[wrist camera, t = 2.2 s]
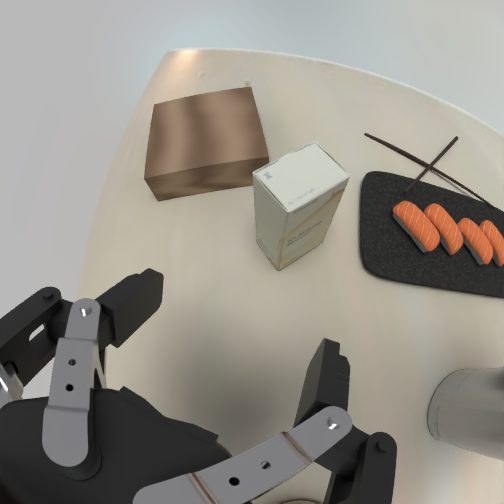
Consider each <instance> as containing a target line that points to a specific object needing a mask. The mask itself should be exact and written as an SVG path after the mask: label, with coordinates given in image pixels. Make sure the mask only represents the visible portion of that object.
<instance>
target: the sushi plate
mask: <svg viewBox="0 0 504 504" xmlns="http://www.w3.org/2000/svg"><path fill="white" fill-rule="evenodd" d="M364 135H365V136H367V137H369V138H371V139H373V140H375V141H377V142H379V143H381V144H383V145H385V146H387V147H388V148H390V149H392V150H394V151H396V152H398V153H400V154H402V155H404V156H406V157H408V158H410V159H412V160H414V161H416V162H418V163H420V164H422V165H424V166H426V167H427V168H426V169H425V170H424V171H423V172H422V173H421V174H420V175H419V176H418V177H417V178H416V179H412V178H408V177H404V176H400V175H396V174H392V173H387V172H381V171H372V172H369V173H367V174H366V175H365V177H364V179H363V183H362V193H361V250H362V257H363V260H364V263H365V265H366V267H367V268H368V269H369V270H370V271H371V272H373V273H374V274H376V275H378V276H381V277H384V278H387V279H392V280H396V281H401V282H407V283H413V284H419V285H426V286H432V287H438V288H445V289H451V290H457V291H464V292H470V293H477V294H483V295H490V296H496V297H504V212H503V211H501V210H500V209H498V208H496V207H494V206H492V205H491V204H490V203H488V202H487V201H486V200H484V199H483V198H481V197H480V196H478V195H477V194H476V193H474V192H473V191H471V190H470V189H468V188H467V187H465V186H464V185H462V184H460V183H459V182H457V181H456V180H454V179H452V178H451V177H449V176H448V175H446V174H444V173H443V172H441V171H439V170H438V169H436V168H434V167H432V166H433V165H434V164H435V163H436V162H437V161H438V160H439V159H440V158H441V157H442V156H443V155H444V154H445V153H446V152H447V150H448V149H449V148H450V147H451V146H452V145H453V144H454V143H455V142H456V141H457V140H458V137H457V136H456V137H455V138H454V139H453V140H452V141H451V142H450V144H449V145H448V146H447V147H446V148H445V149H444V150H443V151H442V152H441V153H440V154H439V155H438V157H437V158H436V159H435V160H434V161H433V162H432V163H431V164H430V165H429V164H427V163H425V162H424V161H422V160H420V159H418V158H417V157H415V156H413V155H411V154H409V153H407V152H405V151H403V150H401V149H399V148H397V147H395V146H393V145H391V144H389V143H387V142H385V141H383V140H381V139H378V138H376V137H374V136H372V135H369V134H367V133H365V134H364ZM429 169H431V170H433V171H435V172H437V173H439V174H440V175H442V176H444V177H446V178H447V179H449V180H451V181H452V182H454V183H456V184H457V185H459V186H461V187H462V188H464V189H465V190H467V191H468V192H470V193H471V194H473V195H474V196H476V197H477V198H479V199H480V200H482V201H483V202H481V201H479V200H476V199H473V198H471V197H468V196H465V195H462V194H459V193H456V192H454V191H451V190H448V189H445V188H441V187H438V186H435V185H432V184H429V183H425V182H422V181H419V179H420V178H421V177H422V176H423V175H424V174H425V173H426V172H427V171H428V170H429ZM484 202H485V203H484Z"/></svg>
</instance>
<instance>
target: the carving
mask: <svg viewBox="0 0 504 504" xmlns="http://www.w3.org/2000/svg"><path fill="white" fill-rule="evenodd" d="M283 504H316V503H313V502H310V501H291V502H287V503H283Z"/></svg>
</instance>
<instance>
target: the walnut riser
mask: <svg viewBox="0 0 504 504" xmlns="http://www.w3.org/2000/svg"><path fill="white" fill-rule="evenodd" d="M267 164H269V155H268V151H267V147H266V142H265V138H264V134H263V130H262V127H261V123H260V119H259V115H258V111H257V107H256V103H255V100H254V96H253V92H252V89H251V87H244V88H237V89H229V90H222V91H216V92H210V93H205V94H199V95H194V96H189V97H184V98H180V99H175V100H171V101H167V102H163V103H159V104H155V105H154V109H153V114H152V121H151V127H150V133H149V141H148V148H147V156H146V165H145V174H144V179H145V181H146V183H147V184H148V186H149V187H150V189H151V191H152V192H153V194H154V195H155V197H156V199H157V200H158V201H162V200H167V199H173V198H178V197H183V196H188V195H194V194H200V193H205V192H211V191H217V190H224V189H230V188H236V187H243V186H250V185H253V172H254V171H256V170H258V169H260V168H261V167H263V166H265V165H267Z"/></svg>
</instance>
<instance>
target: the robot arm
mask: <svg viewBox="0 0 504 504" xmlns="http://www.w3.org/2000/svg"><path fill="white" fill-rule="evenodd" d="M163 279H164V277H163V274H161V273H159V272H157V271H155V270H153V269H150V268H148V269H146V270H145V271H144V272H142V273H141V274H134V275H130V276H127V277H126V278H124V279H123V280H122V281H121V282H119V283H117V284H116V285H115V286H113V287H112V288H110V289H109V290H107V291H106V292H105V293H103V294H102V295H101V296H99V297H98V298H96V299H95V300H93V299H89V298H84V299H80V300H77V301H76V302H74V303H73V302H69V301H67V300H64V299H62V297H61V292H60V291H59V290H58V289H57V288H55V287H45V288H42V289H40V290H39V291H37V292H36V293H35V294H33V295H32V296H31V297H29V298H28V299H26V300H25V301H24V302H22V303H21V304H19V305H18V306H17V307H15V309H13V310H11V311H10V312H9V313H7V314H6V315H5V316H3V317H2V318H1V319H0V504H252V502H251V501H253V500H255V499H257V498H259V497H260V496H262V495H264V494H266V493H267V492H269V491H271V490H272V489H274V488H276V487H277V486H279V485H280V484H282V483H284V482H285V481H287V480H288V479H290V478H291V477H293V476H294V475H296V474H297V473H299V472H300V471H302V470H303V469H305V468H306V467H307V466H309V465H310V464H312V463H313V462H316V463H318V464H319V465H321V466H323V467H325V468H326V469H328V470H330V471H332V474H331V477H330V481H329V485H328V488H327V492H326V495H325V499H324V502H323V504H391V502H392V495H393V488H394V479H395V469H396V456H397V445H396V442H395V440H394V439H393V438H392V437H391V436H390V435H389V434H387V433H384V432H376V433H374V434H372V435H371V436H370V435H368V434H366V433H364V432H363V431H361V430H359V429H357V428H356V427H355V426H354V425H353V424H352V419H351V417H350V415H349V414H348V413H347V407H348V394H349V379H350V377H349V376H350V365H349V362H348V360H347V358H346V357H345V356H341V355H339V350H340V343H338V342H335V341H332V340H329V339H326V338H324V339H323V340H322V342H321V344H320V346H319V348H318V349H317V351H316V353H315V355H314V356H313V358H312V360H311V362H310V364H309V367H308V369H307V373H306V377H305V382H304V386H303V390H302V395H301V399H300V403H299V407H298V411H297V415H296V418H295V422H294V426H293V429H292V430H290V431H288V432H286V433H285V432H281V433H278V434H277V435H275V436H273V437H271V438H269V439H267V440H266V441H264V442H262V443H260V444H258V445H256V446H254V447H252V448H250V449H248V450H246V451H244V452H242V453H240V454H238V455H236V456H234V457H232V455H231V454H230V453H229V452H228V451H227V450H226V449H225V448H224V447H223V446H222V445H221V444H219V443H218V442H217V439H218V436H219V435H217V434H214V433H212V432H210V431H207V430H205V429H203V428H201V427H198V426H196V425H194V424H190V423H186V422H182V421H178V420H174V419H170V418H167V417H165V416H163V415H162V414H161V413H160V412H158V411H157V410H156V409H155V408H154V407H153V406H152V405H151V404H150V403H149V402H148V401H146V400H145V399H144V398H142V397H141V396H139V395H137V394H136V393H134V392H132V391H131V390H129V389H128V388H126V387H124V386H123V387H122V388H121V389H120V391H117V390H113V389H107V385H106V358H107V348H106V347H107V346H108V345H109V344H112V345H113V346H115V347H116V348H119V347H120V346H121V345H122V344H123V343H124V342H125V341H126V340H127V339H128V338H129V337H130V336H131V335H132V334H133V333H134V332H135V331H136V330H137V329H138V328H139V327H140V326H141V325H142V324H143V323H144V322H145V321H147V320H148V319H149V318H150V317H151V316H152V315H153V314H154V313H155V312H156V311H157V310H158V309H159V307H160V305H161V302H162V294H163ZM42 324H43V326H44V329H43V330H42V331H41V332H40V333H38V334H37V335H36V336H35V337H34V338H33V339H32V340H30V341H29V337H30V335H31V333H32V332H33V331H35V330H36V329H37V328H38V327H39V326H40V325H42ZM53 357H55V361H54V366H53V371H52V378H51V385H50V393H49V396H48V397H40V398H32V399H23V398H22V393H23V388H24V387H25V386H26V385H27V384H28V382H30V381H31V379H32V378H33V377H34V376H35V375H36V374H37V373H38V372H39V371H40V370H41V369H42V368H43V367H44V366H45V365H46V364H47V363H48V362H49V361H50V360H52V358H53ZM428 426H429V429H430V432H431V434H432V435H433V436H434V437H435V438H436V439H438V440H440V441H443V442H446V443H449V444H451V445H454V446H457V447H460V448H463V449H466V450H469V451H472V452H475V453H478V454H481V455H485V456H488V457H492V458H495V459H499V460H503V461H504V367H501V368H488V369H467V370H458V371H456V372H453V373H451V374H450V375H449V376H448V377H446V378H445V379H444V380H443V382H442V383H441V384H440V385H439V387H438V388H437V390H436V392H435V394H434V396H433V397H432V400H431V403H430V406H429V411H428Z"/></svg>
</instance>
